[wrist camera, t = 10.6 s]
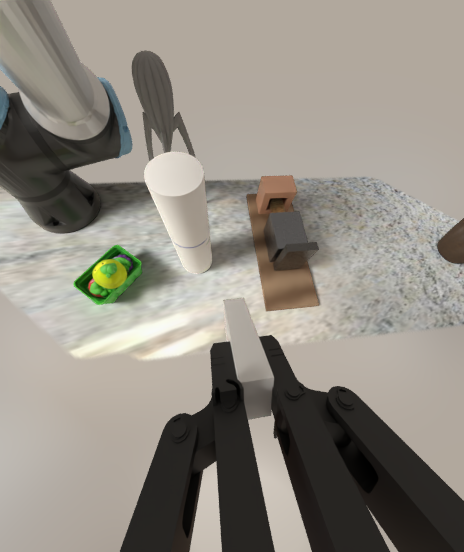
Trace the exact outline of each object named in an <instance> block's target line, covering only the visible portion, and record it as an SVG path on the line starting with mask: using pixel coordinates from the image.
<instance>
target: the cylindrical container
mask: <svg viewBox="0 0 464 552" xmlns="http://www.w3.org/2000/svg"><path fill="white" fill-rule="evenodd" d="M144 179H145V182H146V185H147V187H148V189H149V191H150V193H151V196H152V198H153V200H154V202H155V205H156V207H157V209H158V211H159V213H160V216H161V218H162V220H163V222H164V224H165V227H166V229H167V231H168V233H169V236H170V238H171V240H172V242H173V244H174V247H175V249H176V251H177V253H178V255H179V258H180V260H181V262H182V264H183V266H184V268H185V269H186V270H187V271H188V272H190V273H193V274H200V273H203V272H205V271H207V270H208V269H209V268H210V266H211V264H212V252H211V241H210V231H209V221H208V210H207V200H206V190H205V179H204V171H203V167H202V165H201V163H200V162H199V161H198V160H197V159H196V158H195V157H193V156H192V155H190V154H187V153H183V152H167V153H163V154H160V155H158V156H156V157H155V158H153V159H152V160H151V161H150V162H149V163H148V164H147V166H146V168H145V171H144Z"/></svg>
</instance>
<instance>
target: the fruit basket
mask: <svg viewBox="0 0 464 552" xmlns="http://www.w3.org/2000/svg"><path fill="white" fill-rule="evenodd" d="M141 274H142V270H141V261H140V260H139V259H137V258H136V257H134V256H133V255H132V254H130V253H129V252H127V251H126V250H125V249H123V248H122V247H121V246H119V245H115V246H113V247H112V248H111V249H110V250H108V251H107V252H106V253H105V254H104V255H103V256H102V257H101V258H100V259H99V260H97V261H96V262H95V263H94V264H93V265H92V266H91V267H90V268H89V269H88V270H86V271H85V272H84V273H83V274H82V275H81V276H80V277H79V278H78V279H76V280H75V281H74V287H75V288H77V289H78V290H79V291H81V292H82V293H83V294H85V295H86V296H87V297H88V298H89V299H91V300H92V301H93V302H94V303H95V304H97V305H102V304H107V303H114V302H115V300H116V299H117V298H118V297H119V296H120V295H121V294H122V293H123V292H124V291H125V290H126V289H127V287H128V286H130V285H131V284H132V283H133V282H134V281H135V279H136V278H138V277H139V276H140V275H141Z"/></svg>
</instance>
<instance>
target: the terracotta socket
mask: <svg viewBox="0 0 464 552" xmlns="http://www.w3.org/2000/svg"><path fill="white" fill-rule="evenodd" d="M296 193H297V190H296V186H295V183H294V179H293V176H262V177H261V181H260V185H259V188H258V192H257V196H256V203H257V208H258V213H259V214H270V213H271V211H270V206H269V200H270V198H282V199H283V203H284V207H285V211H286V212H287V211H288V209H289V207H290V205H291V203H292V201H293V199H294V197H295V195H296Z"/></svg>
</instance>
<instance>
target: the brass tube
mask: <svg viewBox="0 0 464 552" xmlns="http://www.w3.org/2000/svg"><path fill="white" fill-rule="evenodd" d="M269 206H270V211H271V213H278V212H286V211H285V207H284V203H283V199H282V198H270V200H269ZM318 250H319V249H318V246H317V242H312V243H297V244H286V246H285V247H284V249H283V250H282V251H281V253H280V255H279V256H278V258H277V259H276V261H275V262H274V264H273V267H274V271H278V270H290V269H299V268H301V267H302V266H303V265H304V264H305V263H306V262H307V261H308V260H309V259H310V258H311V257H312V256H313V255H314V254H315V253H316V252H317V251H318Z"/></svg>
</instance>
